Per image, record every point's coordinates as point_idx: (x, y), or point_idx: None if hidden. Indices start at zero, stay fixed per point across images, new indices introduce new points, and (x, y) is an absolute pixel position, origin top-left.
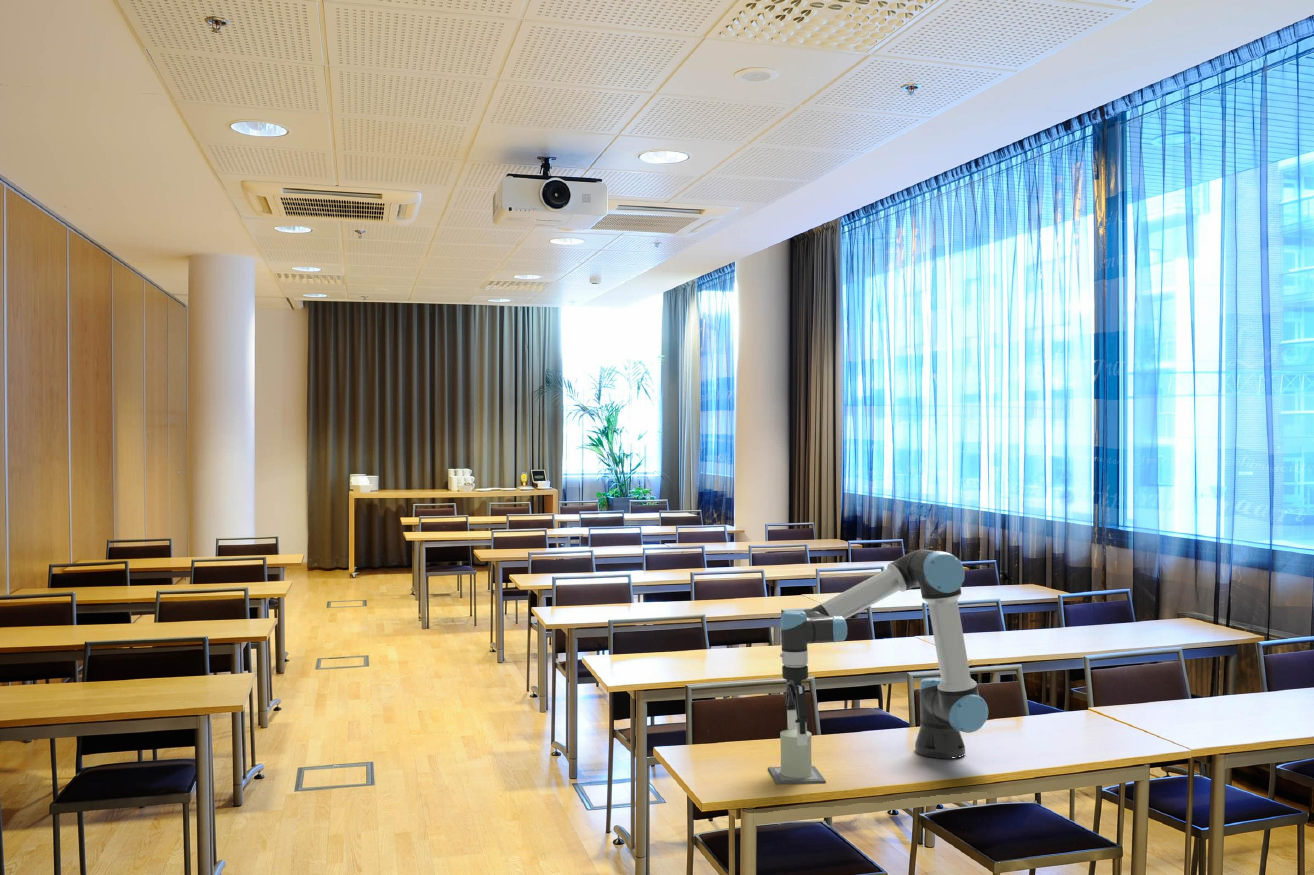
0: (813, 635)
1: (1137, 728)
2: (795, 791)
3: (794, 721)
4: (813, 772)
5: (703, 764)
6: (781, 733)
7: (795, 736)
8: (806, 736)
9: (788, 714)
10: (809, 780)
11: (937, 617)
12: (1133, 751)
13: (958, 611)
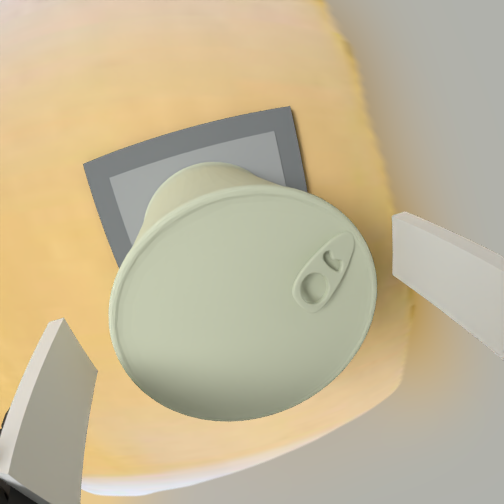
0: None
1: None
2: (379, 218)
3: (50, 396)
4: (183, 158)
5: (173, 459)
6: (271, 409)
7: (342, 317)
8: (448, 234)
9: (75, 484)
10: (295, 172)
11: None
12: None
13: None
